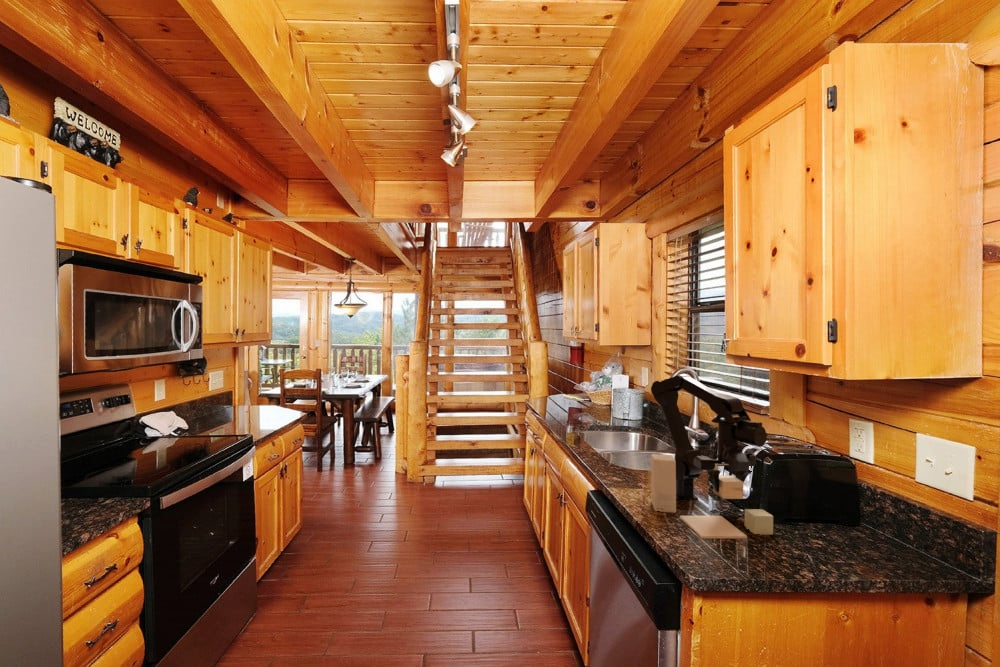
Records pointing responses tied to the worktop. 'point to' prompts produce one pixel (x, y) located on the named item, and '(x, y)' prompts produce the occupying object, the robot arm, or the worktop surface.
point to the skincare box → (663, 483)
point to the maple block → (729, 488)
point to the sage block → (758, 521)
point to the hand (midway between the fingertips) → (727, 491)
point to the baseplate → (712, 527)
